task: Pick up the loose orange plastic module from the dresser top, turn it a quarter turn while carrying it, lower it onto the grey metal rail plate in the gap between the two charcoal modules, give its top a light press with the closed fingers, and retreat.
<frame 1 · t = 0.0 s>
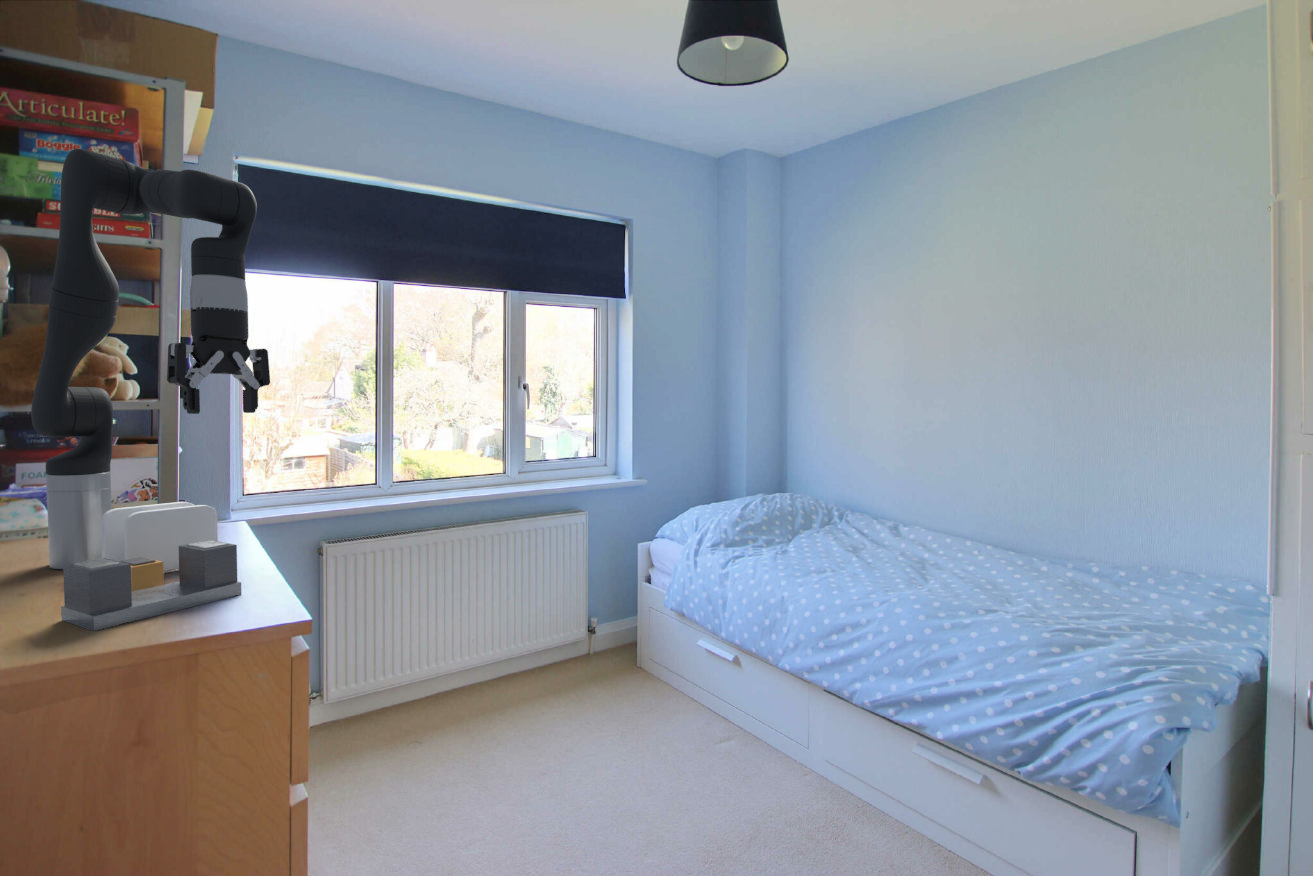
hand: (222, 413, 107), 29 cm above the table, tool pointing down, fingers open, 8 cm apart
rail plate: (157, 606, 104), on the table
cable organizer: (161, 569, 126), on the table
orange module: (138, 590, 113), on the table
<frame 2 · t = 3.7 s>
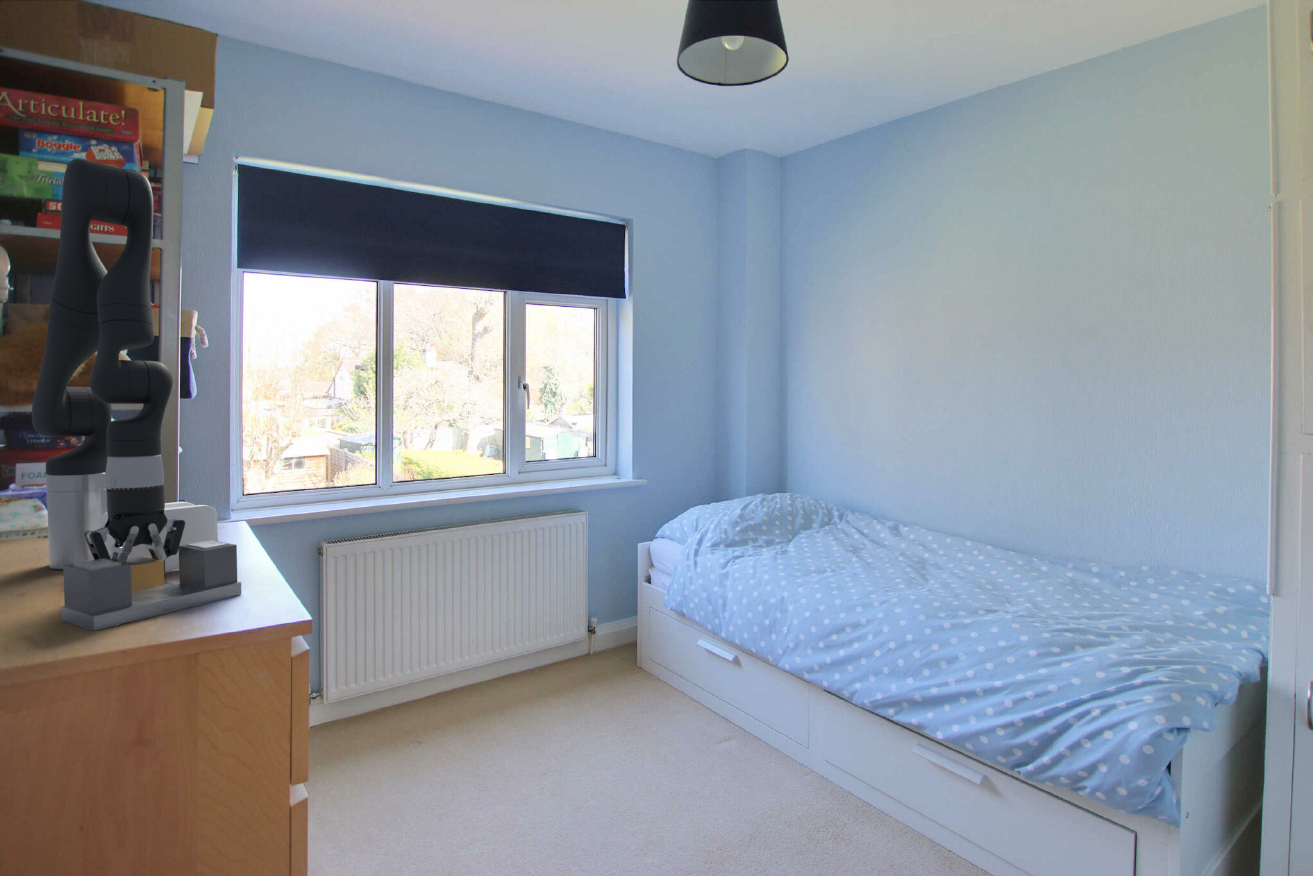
hand: (139, 586, 113), 1 cm above the table, tool pointing down, fingers closed on orange module, 4 cm apart
orange module: (139, 589, 113), on the table, touching gripper
everything else where it was.
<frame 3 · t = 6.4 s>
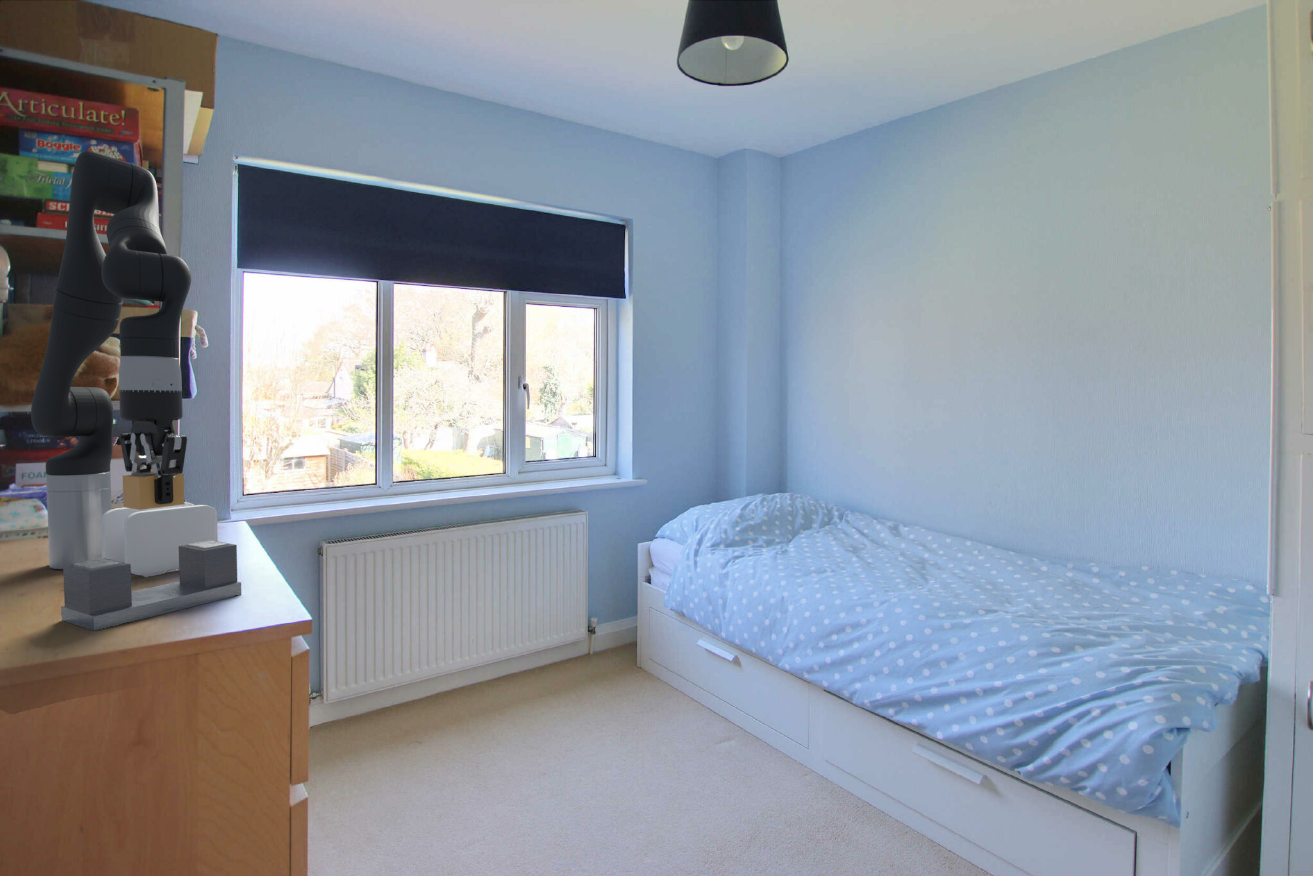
hand: (154, 501, 103), 16 cm above the table, tool pointing down, fingers closed on orange module, 4 cm apart
orange module: (154, 505, 103), point 15 cm above the table, touching gripper
everything else where it was.
when the fingers open (4 cm above the table, at t = 9.3 s): orange module drops 1 cm, resting on rail plate.
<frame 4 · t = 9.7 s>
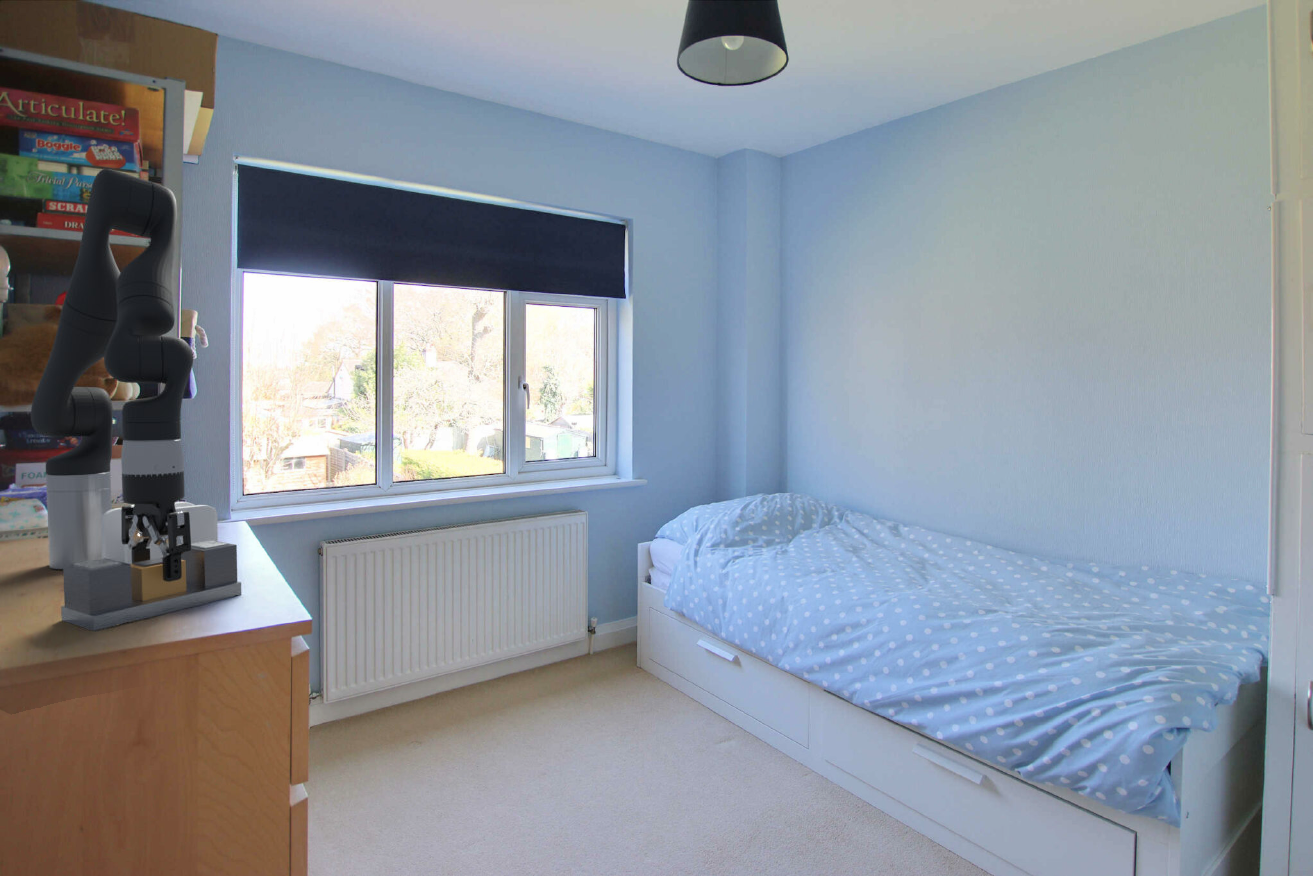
hand: (156, 576, 103), 5 cm above the table, tool pointing down, fingers open, 8 cm apart
orange module: (156, 593, 104), point 2 cm above the table, touching rail plate
everything else where it was.
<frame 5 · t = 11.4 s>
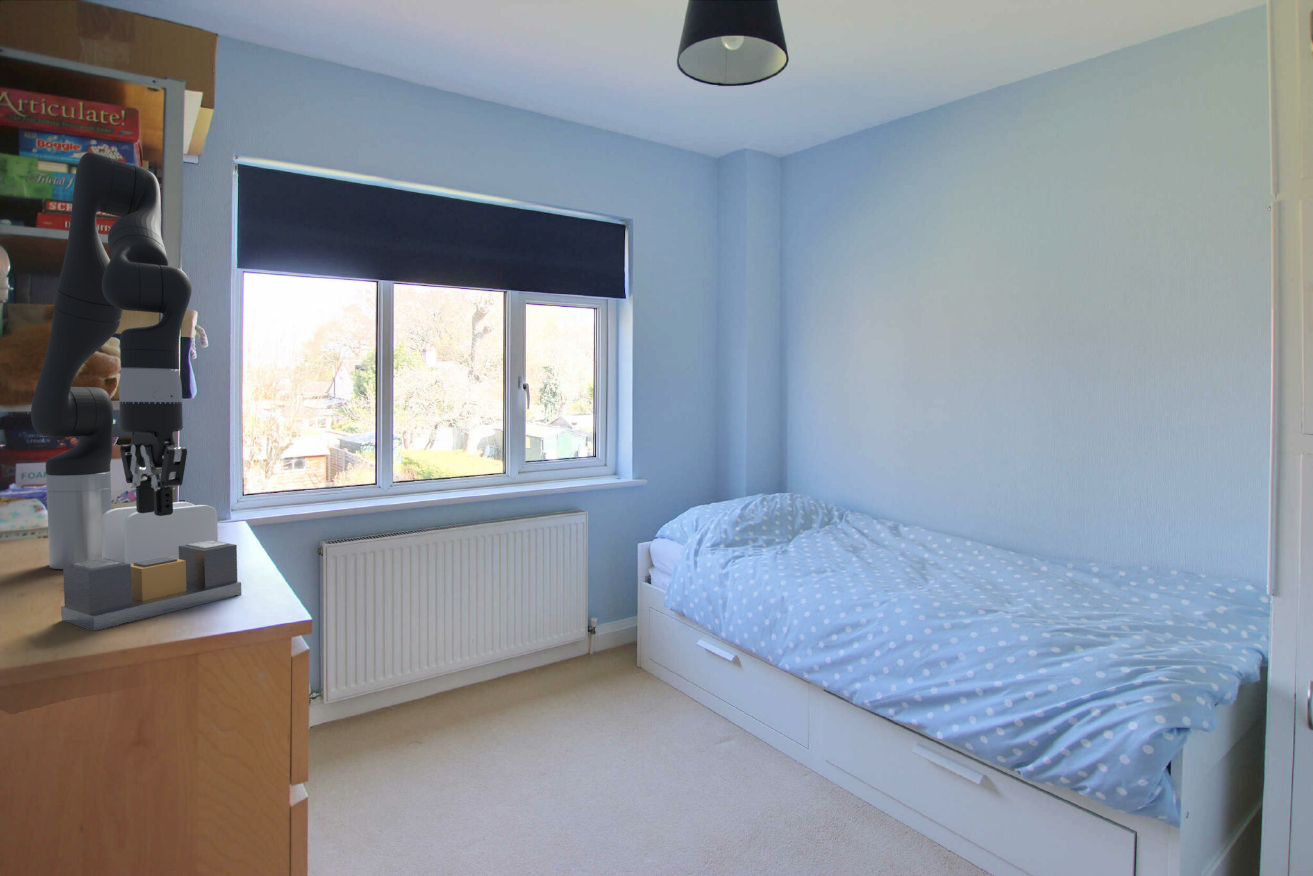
hand: (154, 513, 103), 14 cm above the table, tool pointing down, fingers open, 4 cm apart
nothing on the table moved.
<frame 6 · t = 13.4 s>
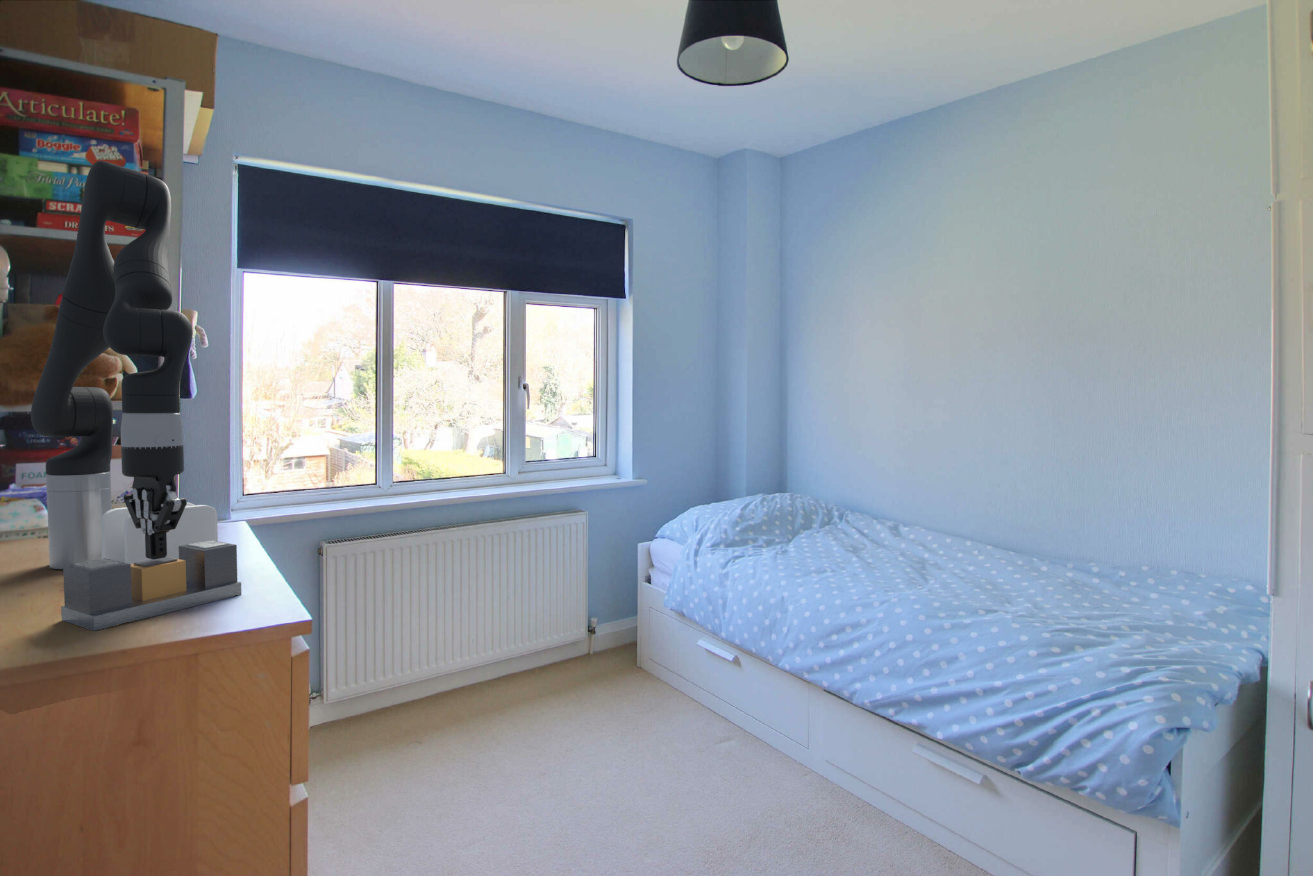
hand: (156, 557, 103), 7 cm above the table, tool pointing down, fingers closed
nothing on the table moved.
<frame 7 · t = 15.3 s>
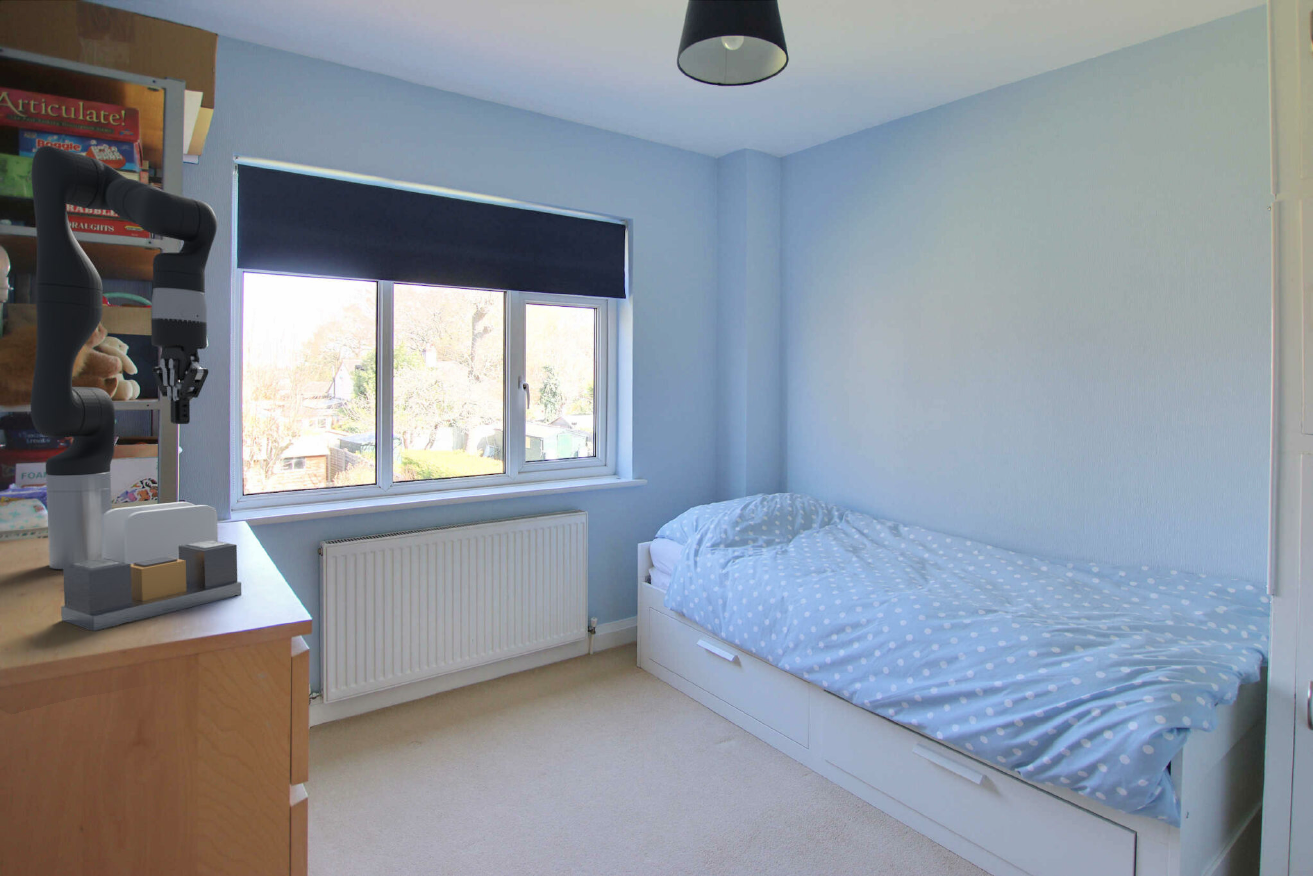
hand: (180, 423, 114), 27 cm above the table, tool pointing down, fingers closed
nothing on the table moved.
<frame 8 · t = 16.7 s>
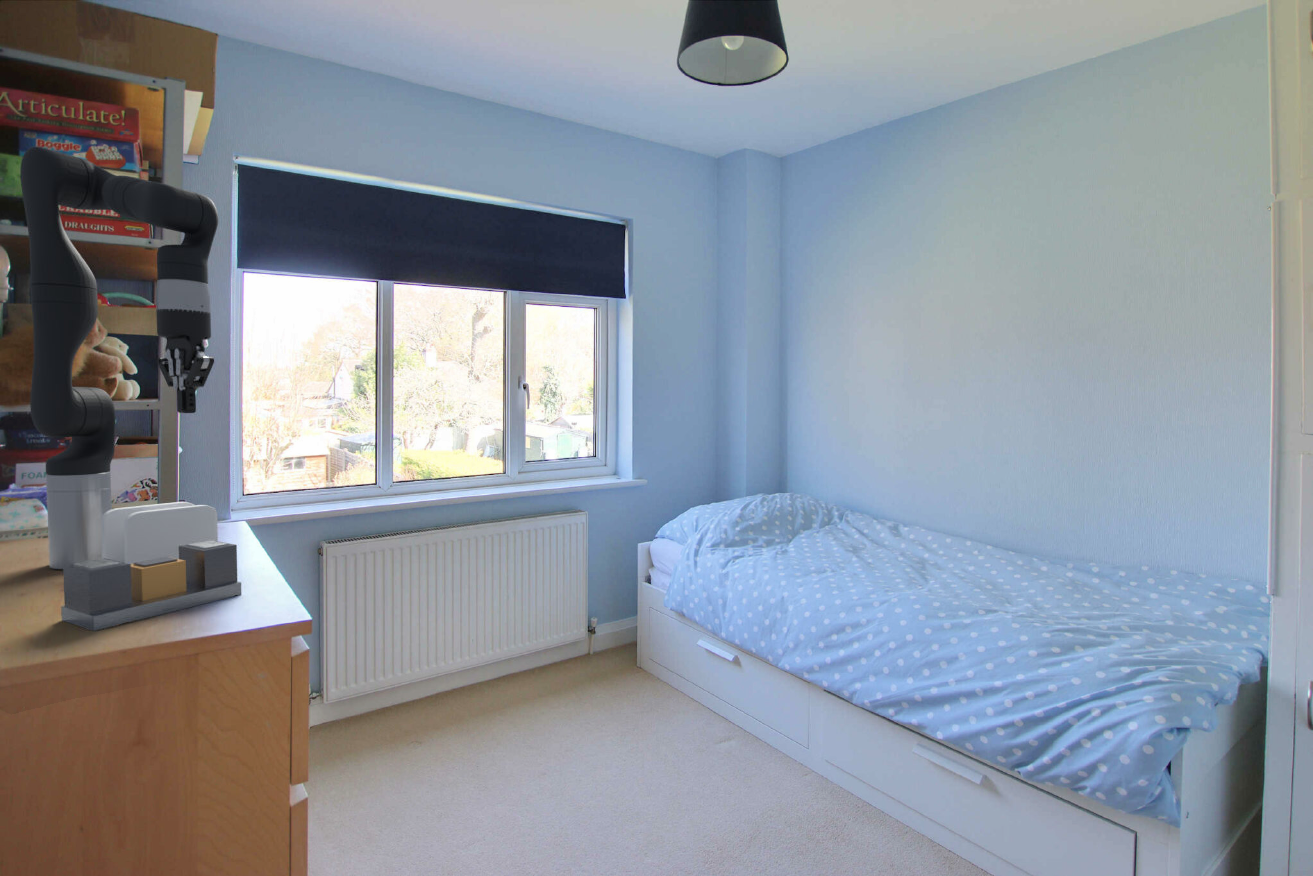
hand: (186, 412, 116), 29 cm above the table, tool pointing down, fingers closed
nothing on the table moved.
at the end: orange module 0.1 cm off-centre on the rail plate, point 2.0 cm above the rail plate's base; orange module tilted 0°; the gripper is holding nothing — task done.
